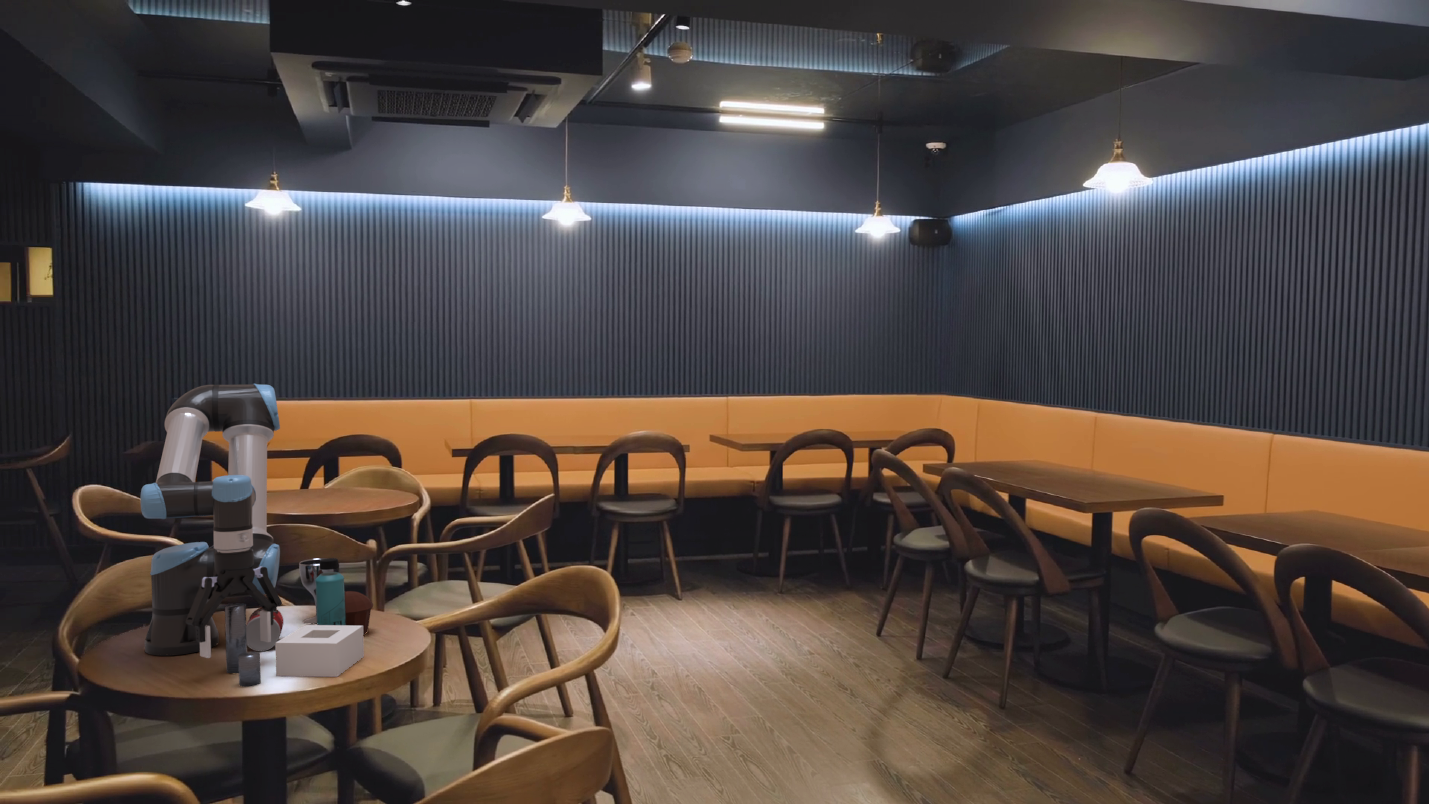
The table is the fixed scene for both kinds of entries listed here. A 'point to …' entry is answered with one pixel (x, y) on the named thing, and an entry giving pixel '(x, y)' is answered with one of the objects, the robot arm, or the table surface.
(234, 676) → the table surface
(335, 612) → the beverage bottle
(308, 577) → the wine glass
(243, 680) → the short peg
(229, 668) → the long peg
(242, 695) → the table surface
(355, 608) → the muffin
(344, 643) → the hole block
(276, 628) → the canned food
